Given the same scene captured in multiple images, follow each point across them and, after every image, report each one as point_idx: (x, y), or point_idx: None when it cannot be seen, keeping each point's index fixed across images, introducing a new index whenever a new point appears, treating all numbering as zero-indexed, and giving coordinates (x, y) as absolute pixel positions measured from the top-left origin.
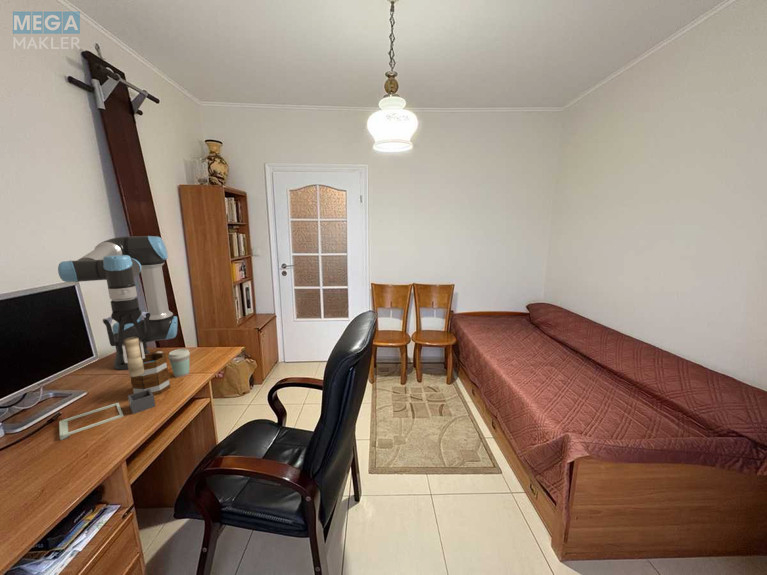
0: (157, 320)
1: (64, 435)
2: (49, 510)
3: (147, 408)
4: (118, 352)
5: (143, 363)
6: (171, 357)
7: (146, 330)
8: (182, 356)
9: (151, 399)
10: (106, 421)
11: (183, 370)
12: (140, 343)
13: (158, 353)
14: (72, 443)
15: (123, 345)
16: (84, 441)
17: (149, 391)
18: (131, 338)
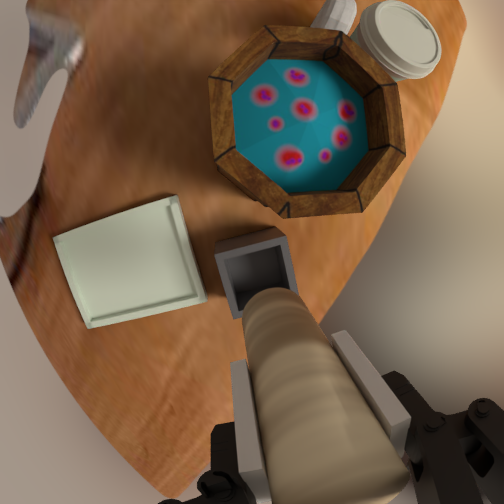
0: None
1: (94, 326)
2: (174, 477)
3: None
4: (211, 437)
5: (280, 97)
6: (382, 54)
7: (488, 493)
8: (420, 75)
9: None
10: (169, 309)
11: None
12: None
13: (364, 63)
14: (123, 353)
15: (265, 495)
16: (145, 360)
17: (286, 261)
18: (350, 499)
